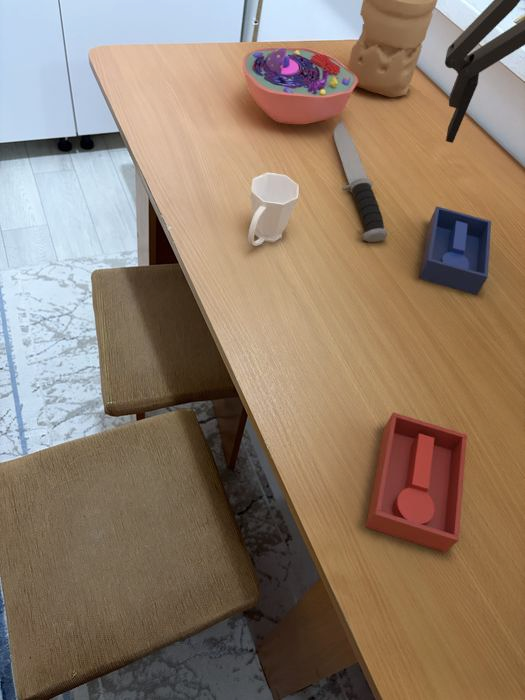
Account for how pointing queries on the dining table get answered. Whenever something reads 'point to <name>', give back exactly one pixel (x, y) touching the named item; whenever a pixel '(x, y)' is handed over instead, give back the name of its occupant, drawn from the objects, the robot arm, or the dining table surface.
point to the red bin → (441, 486)
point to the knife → (359, 185)
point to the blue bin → (474, 253)
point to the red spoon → (417, 484)
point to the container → (390, 44)
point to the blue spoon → (457, 246)
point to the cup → (271, 206)
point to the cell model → (298, 83)
